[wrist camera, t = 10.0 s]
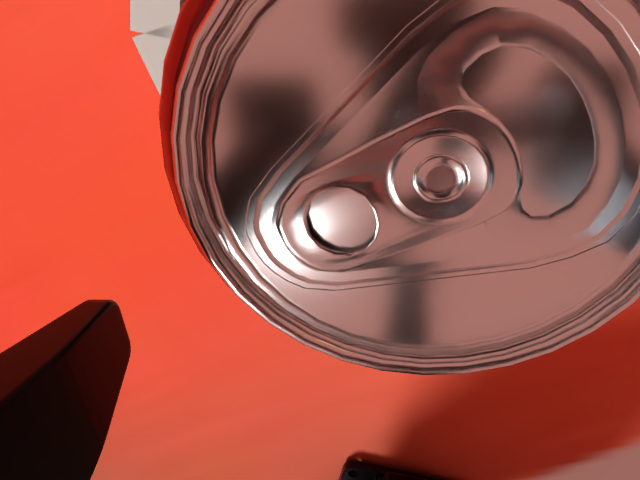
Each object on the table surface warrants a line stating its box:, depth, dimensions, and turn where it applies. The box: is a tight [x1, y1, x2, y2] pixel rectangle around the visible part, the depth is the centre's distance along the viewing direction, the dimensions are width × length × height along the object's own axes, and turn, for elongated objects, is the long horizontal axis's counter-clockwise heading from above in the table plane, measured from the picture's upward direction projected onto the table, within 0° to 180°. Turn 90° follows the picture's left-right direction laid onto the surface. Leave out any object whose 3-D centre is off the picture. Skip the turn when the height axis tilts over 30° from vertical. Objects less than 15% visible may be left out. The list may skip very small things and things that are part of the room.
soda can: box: [159, 0, 640, 375], centre depth 12 cm, size 7×7×12 cm
